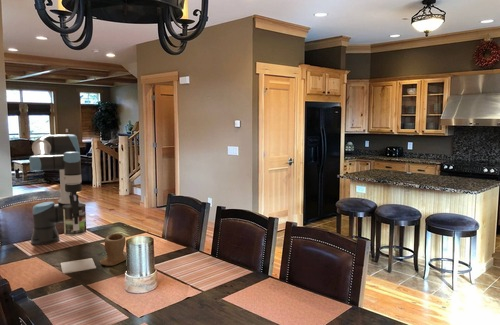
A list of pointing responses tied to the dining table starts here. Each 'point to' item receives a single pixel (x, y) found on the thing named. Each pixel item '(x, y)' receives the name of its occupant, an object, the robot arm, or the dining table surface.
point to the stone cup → (114, 249)
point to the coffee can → (69, 221)
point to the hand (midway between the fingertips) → (75, 227)
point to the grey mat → (77, 265)
